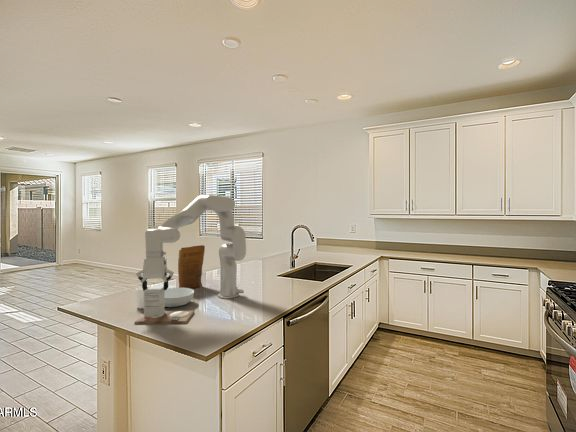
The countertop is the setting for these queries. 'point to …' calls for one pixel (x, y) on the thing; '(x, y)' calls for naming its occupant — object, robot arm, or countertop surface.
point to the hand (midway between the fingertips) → (155, 289)
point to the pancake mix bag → (190, 266)
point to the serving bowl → (177, 296)
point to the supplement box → (154, 302)
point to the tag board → (167, 318)
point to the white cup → (140, 297)
